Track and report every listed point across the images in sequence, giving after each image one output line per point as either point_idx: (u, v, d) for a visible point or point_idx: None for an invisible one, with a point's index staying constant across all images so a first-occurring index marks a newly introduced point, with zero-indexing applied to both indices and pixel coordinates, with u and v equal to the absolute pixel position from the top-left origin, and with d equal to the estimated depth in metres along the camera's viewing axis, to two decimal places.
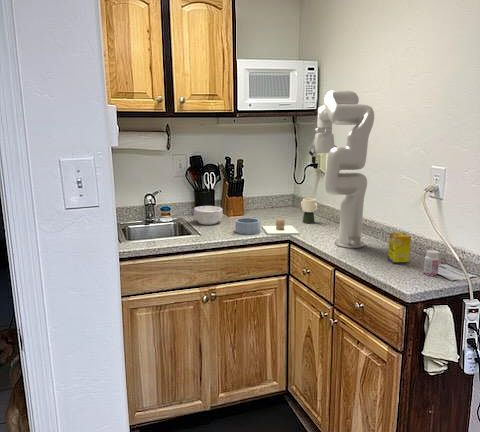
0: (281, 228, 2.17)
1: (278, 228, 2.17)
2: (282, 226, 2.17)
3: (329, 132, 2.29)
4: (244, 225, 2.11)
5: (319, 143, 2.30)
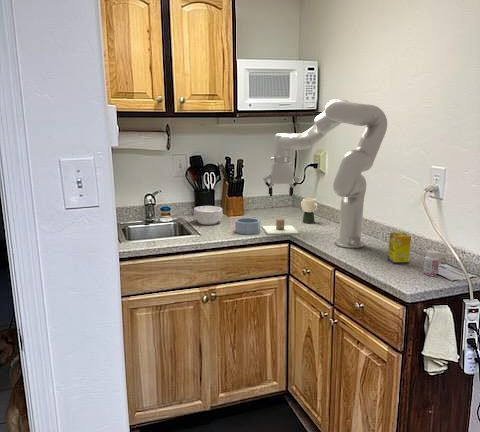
0: (281, 228, 2.17)
1: (278, 228, 2.17)
2: (282, 226, 2.17)
3: (287, 162, 2.10)
4: (244, 225, 2.11)
5: (276, 174, 2.11)
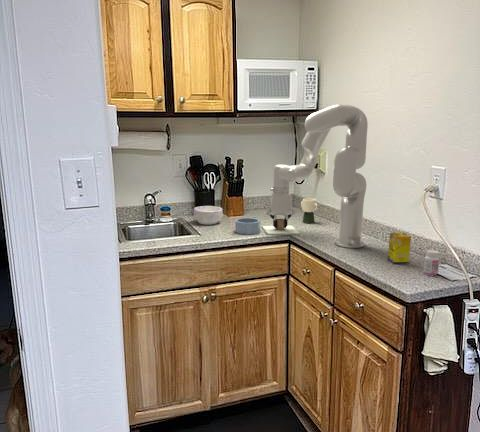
0: (281, 228, 2.17)
1: (278, 228, 2.17)
2: (282, 226, 2.17)
3: (286, 193, 2.12)
4: (244, 225, 2.11)
5: (275, 204, 2.14)
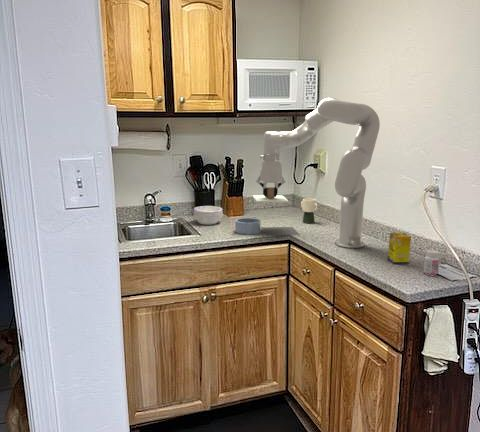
0: (271, 197, 2.14)
1: (268, 197, 2.14)
2: (272, 194, 2.14)
3: (276, 160, 2.09)
4: (244, 225, 2.11)
5: (265, 172, 2.10)
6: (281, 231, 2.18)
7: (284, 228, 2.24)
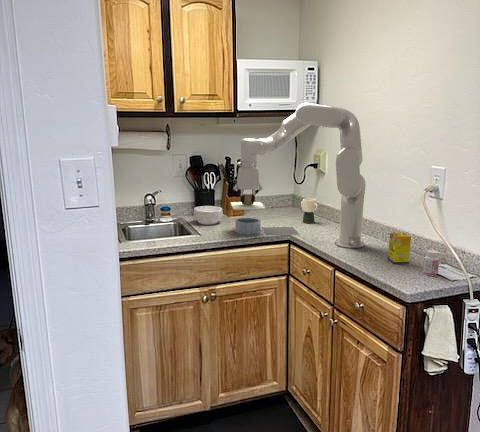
0: (248, 203, 2.13)
1: (245, 203, 2.13)
2: (249, 201, 2.13)
3: (252, 167, 2.08)
4: (244, 225, 2.11)
5: (242, 179, 2.09)
6: (281, 231, 2.18)
7: (284, 228, 2.24)
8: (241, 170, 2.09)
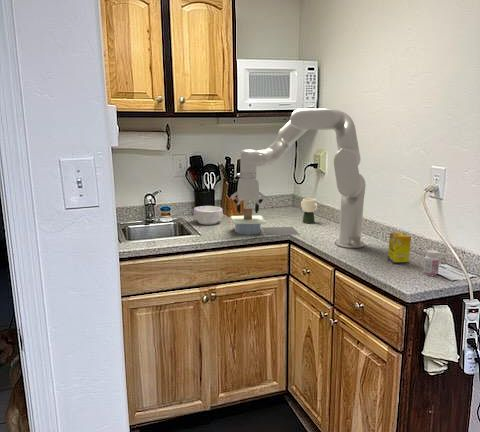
0: (248, 218, 2.14)
1: (245, 218, 2.14)
2: (249, 215, 2.14)
3: (252, 178, 2.09)
4: (244, 225, 2.11)
5: (242, 190, 2.10)
6: (281, 231, 2.18)
7: (284, 228, 2.24)
8: (241, 181, 2.10)
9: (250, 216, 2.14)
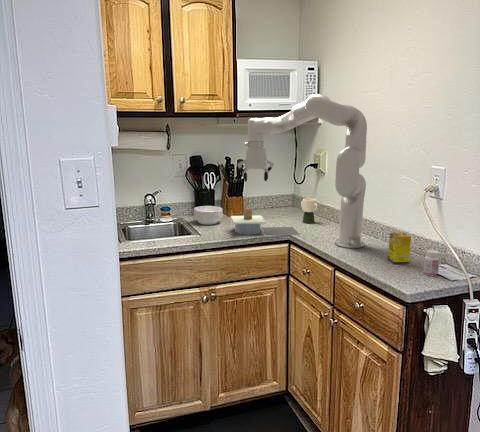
0: (248, 218, 2.14)
1: (245, 218, 2.14)
2: (249, 215, 2.14)
3: (260, 146, 2.10)
4: (244, 225, 2.11)
5: (250, 158, 2.11)
6: (281, 231, 2.18)
7: (284, 228, 2.24)
8: (249, 150, 2.10)
9: (250, 216, 2.14)
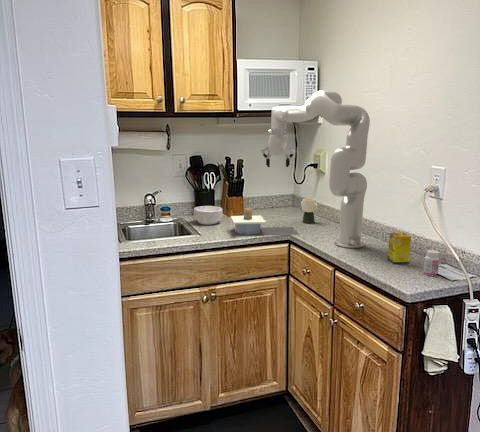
0: (248, 218, 2.14)
1: (245, 218, 2.14)
2: (249, 215, 2.14)
3: (283, 134, 2.22)
4: (244, 225, 2.11)
5: (273, 145, 2.23)
6: (281, 231, 2.18)
7: (284, 228, 2.24)
8: (272, 137, 2.22)
9: (250, 216, 2.14)
